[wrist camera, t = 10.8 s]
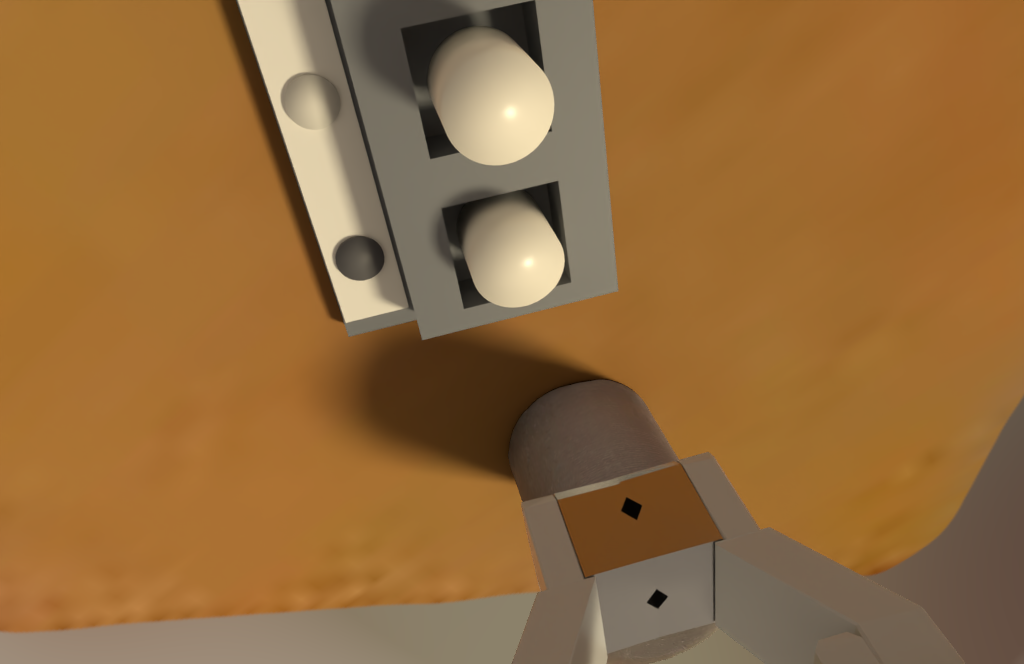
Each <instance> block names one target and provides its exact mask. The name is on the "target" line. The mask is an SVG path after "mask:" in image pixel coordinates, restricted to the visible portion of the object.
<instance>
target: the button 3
mask: <svg viewBox="0 0 1024 664" xmlns="http://www.w3.org/2000/svg"><path fill="white" fill-rule="evenodd" d="M457 236H458V240H459V243H460V246H461V248H462V251H463V254H464V257H465V260H466V262H467V265H468V268H469V271H470V274H471V277H472V279H473V282H474V285H475V287H476V289H477V290H478V292H479V293H480V294H481V295H482V296H483V297H484V298H485V299H486V300H488V301H490V302H491V303H493V304H496V305H499V306H502V307H511V308H515V307H523V306H527V305H530V304H533V303H535V302H537V301H539V300H541V299H542V298H544V297H545V296H546V295H548V294H549V293H550V292H551V291H552V290H553V289H554V287H555V286H556V285H557V283H558V282H559V280H560V278H561V275H562V273H563V269H564V262H565V259H564V251H563V248H562V245H561V243H560V242H559V240H558V238H557V237H556V235H555V233H554V232H553V230H552V228H551V227H550V225H549V223H548V222H547V220H546V218H545V216H544V215H543V213H542V211H541V210H540V208H539V206H538V205H537V203H536V202H535V200H534V199H533V198H532V197H531V196H530V195H529V194H528V193H526V192H525V191H523V190H517V191H513V192H508V193H504V194H500V195H496V196H491V197H487V198H483V199H479V200H474V201H470V202H467V203H466V204H465V205H464V207H463V208H462V210H461V212H460V214H459V217H458V221H457Z"/></svg>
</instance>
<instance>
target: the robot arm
mask: <svg viewBox="0 0 1024 664" xmlns="http://www.w3.org/2000/svg"><path fill="white" fill-rule="evenodd" d="M521 507H522V512H523V516H524V521H525V526H526V531H527V535H528V540H529V545H530V550H531V554H532V558H533V562H534V566H535V571H536V575H537V579H538V583H539V587H540V590H541V592H538V593H537V595H536V598H535V601H534V604H533V607H532V609H531V612H530V615H529V618H528V620H527V623H526V626H525V629H524V631H523V634H522V637H521V640H520V642H519V645H518V648H517V651H516V654H515V656H514V659H513V662H512V664H606V663H607V658H608V657H607V654H608V653H611V652H614V651H618V650H621V649H624V648H627V647H630V646H633V645H636V644H639V643H642V642H646V641H649V640H652V639H655V638H658V637H662V636H665V635H669V634H673V633H677V632H681V631H685V630H688V629H692V628H696V627H700V626H704V625H708V624H711V623H715V626H717V627H718V628H719V629H721V630H722V631H723V632H725V633H726V634H727V635H729V636H730V637H731V638H732V639H734V640H735V641H737V642H738V643H739V644H740V645H742V646H743V647H744V648H746V649H747V650H748V651H749V652H751V653H752V654H753V655H755V656H756V657H757V658H758V659H760V660H761V661H762V662H764V663H765V664H966V663H965V662H964V661H963V659H962V658H961V657H960V656H959V654H958V653H957V652H956V650H955V649H954V648H953V647H952V645H951V644H950V643H949V641H948V640H947V639H946V638H945V636H944V635H943V634H942V632H941V631H940V630H939V628H938V627H937V626H936V624H935V623H934V622H933V621H932V619H931V618H930V617H929V615H928V614H927V613H926V612H925V610H924V609H923V608H922V607H921V606H919V605H917V604H915V603H913V602H911V601H909V600H907V599H905V598H903V597H902V596H900V595H898V594H896V593H894V592H892V591H890V590H888V589H886V588H884V587H883V586H881V585H879V584H877V583H875V582H873V581H871V580H869V579H867V578H865V577H863V576H862V575H860V574H858V573H856V572H854V571H852V570H850V569H848V568H846V567H844V566H843V565H841V564H839V563H837V562H835V561H833V560H831V559H829V558H827V557H825V556H823V555H822V554H820V553H818V552H816V551H814V550H812V549H810V548H808V547H806V546H804V545H802V544H801V543H799V542H797V541H795V540H793V539H791V538H789V537H787V536H785V535H783V534H782V533H780V532H778V531H776V530H774V529H772V528H770V527H769V528H765V529H761V530H760V528H759V527H758V525H757V524H756V522H755V520H754V519H753V517H752V516H751V514H750V513H749V511H748V509H747V508H746V506H745V505H744V503H743V502H742V500H741V498H740V497H739V495H738V494H737V492H736V490H735V489H734V487H733V486H732V484H731V483H730V481H729V479H728V478H727V476H726V475H725V473H724V472H723V470H722V468H721V467H720V465H719V464H718V462H717V461H716V459H715V457H714V456H713V455H711V454H710V453H709V452H706V453H703V454H699V455H696V456H692V457H688V458H685V459H681V460H677V462H675V461H673V462H669V463H666V464H662V465H659V466H655V467H652V468H648V469H645V470H641V471H638V472H634V473H630V474H627V475H623V476H620V477H616V478H615V479H612V480H608V481H604V482H599V483H595V484H591V485H587V486H583V487H579V488H575V489H571V490H567V491H563V492H558V493H554V496H553V494H552V495H548V496H544V497H540V498H536V499H532V500H528V501H524V502H522V503H521Z"/></svg>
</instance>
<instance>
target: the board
mask: <svg viewBox="0 0 1024 664" xmlns="http://www.w3.org/2000/svg"><path fill="white" fill-rule="evenodd" d="M236 3H237V6H238V9H239V12H240V15H241V18H242V21H243V23H244V26H245V29H246V32H247V35H248V38H249V41H250V44H251V47H252V50H253V53H254V56H255V59H256V62H257V65H258V68H259V71H260V74H261V77H262V80H263V83H264V86H265V89H266V92H267V95H268V98H269V101H270V104H271V107H272V110H273V113H274V116H275V119H276V122H277V125H278V128H279V131H280V134H281V137H282V140H283V142H284V145H285V148H286V151H287V154H288V157H289V160H290V163H291V166H292V169H293V172H294V175H295V178H296V181H297V184H298V187H299V190H300V193H301V196H302V199H303V202H304V205H305V208H306V211H307V214H308V217H309V220H310V223H311V226H312V229H313V232H314V235H315V238H316V241H317V244H318V247H319V250H320V253H321V256H322V259H323V261H324V264H325V267H326V270H327V273H328V276H329V279H330V282H331V285H332V288H333V291H334V294H335V297H336V300H337V303H338V306H339V309H340V312H341V315H342V318H343V321H344V324H345V327H346V330H347V333H348V336H349V337H350V336H354V335H358V334H362V333H366V332H370V331H374V330H378V329H382V328H386V327H390V326H394V325H398V324H402V323H406V322H410V321H414V320H417V322H418V326H419V330H420V334H421V337H422V340H425V339H429V338H433V337H437V336H441V335H445V334H449V333H453V332H457V331H461V330H465V329H469V328H473V327H477V326H481V325H485V324H489V323H493V322H497V321H501V320H505V319H509V318H513V317H517V316H521V315H525V314H529V313H533V312H537V311H541V310H545V309H549V308H553V307H557V306H560V305H564V304H568V303H572V302H576V301H580V300H584V299H588V298H592V297H596V296H600V295H604V294H608V293H612V292H616V291H618V282H617V271H616V260H615V248H614V237H613V225H612V214H611V203H610V191H609V180H608V168H607V157H606V146H605V134H604V123H603V111H602V100H601V89H600V77H599V66H598V54H597V43H596V32H595V20H594V9H593V0H236ZM471 26H488V27H492V28H496V29H498V30H500V31H502V32H504V33H506V34H507V35H509V36H510V37H511V38H512V39H513V40H514V41H515V42H516V43H517V44H518V45H519V46H520V47H521V48H522V49H523V50H524V51H525V52H526V53H527V55H528V56H529V57H530V58H531V59H532V60H533V61H534V62H535V63H536V64H537V65H538V66H539V67H540V68H541V70H542V71H543V72H544V73H545V75H546V76H547V78H548V80H549V82H550V84H551V87H552V91H553V96H554V115H553V120H552V123H551V126H550V128H549V131H548V133H547V135H546V136H545V138H544V139H543V141H542V142H541V143H540V144H539V146H538V147H537V148H536V149H535V150H534V151H532V152H531V153H530V154H529V155H527V156H526V157H524V158H522V159H520V160H518V161H516V162H513V163H509V164H505V165H485V164H480V163H477V162H475V161H472V160H470V159H468V158H467V157H465V156H464V155H462V154H461V153H460V152H459V151H458V150H457V149H456V148H455V147H454V146H453V144H452V143H451V142H450V140H449V138H448V136H447V134H446V132H445V130H444V127H443V125H442V123H441V120H440V118H439V116H438V114H437V111H436V109H435V107H434V105H433V102H432V100H431V98H430V94H429V91H428V84H427V76H428V69H429V64H430V61H431V59H432V56H433V55H434V53H435V51H436V49H437V48H438V47H439V45H440V44H441V43H442V42H443V41H444V40H445V39H446V38H447V37H448V36H450V35H451V34H453V33H454V32H456V31H458V30H461V29H463V28H467V27H471ZM517 190H523V191H525V192H526V193H528V194H529V195H530V196H531V197H532V198H533V199H534V200H535V202H536V203H537V205H538V206H539V208H540V210H541V211H542V213H543V215H544V216H545V218H546V220H547V222H548V223H549V225H550V227H551V228H552V230H553V232H554V233H555V235H556V237H557V238H558V240H559V242H560V243H561V245H562V248H563V251H564V259H565V262H564V269H563V273H562V275H561V278H560V280H559V282H558V283H557V285H556V286H555V287H554V289H553V290H552V291H551V292H550V293H549V294H548V295H546V296H545V297H544V298H542V299H541V300H539V301H537V302H535V303H533V304H530V305H527V306H523V307H515V308H511V307H502V306H499V305H496V304H493V303H491V302H490V301H488V300H486V299H485V298H484V297H483V296H482V295H481V294H480V293H479V292H478V290H477V289H476V287H475V285H474V282H473V279H472V277H471V274H470V271H469V268H468V265H467V262H466V260H465V257H464V254H463V251H462V248H461V246H460V243H459V240H458V236H457V221H458V217H459V214H460V212H461V210H462V208H463V207H464V205H465V204H466V203H467V202H470V201H474V200H479V199H483V198H487V197H491V196H496V195H500V194H504V193H508V192H513V191H517Z"/></svg>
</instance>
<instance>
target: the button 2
mask: <svg viewBox="0 0 1024 664" xmlns="http://www.w3.org/2000/svg"><path fill="white" fill-rule="evenodd" d="M427 84H428V91H429V94H430V98H431V100H432V102H433V105H434V107H435V109H436V111H437V114H438V116H439V118H440V120H441V123H442V125H443V127H444V130H445V132H446V134H447V136H448V138H449V140H450V142H451V143H452V144H453V146H454V147H455V148H456V149H457V150H458V151H459V152H460V153H461V154H462V155H464V156H465V157H467V158H468V159H470V160H472V161H475V162H477V163H480V164H485V165H505V164H509V163H513V162H516V161H518V160H520V159H522V158H524V157H526V156H527V155H529V154H530V153H531V152H532V151H534V150H535V149H536V148H537V147H538V146H539V144H540V143H541V142H542V141H543V139H544V138H545V136H546V135H547V133H548V131H549V128H550V126H551V123H552V120H553V115H554V96H553V91H552V87H551V84H550V82H549V80H548V78H547V76H546V75H545V73H544V72H543V71H542V70H541V68H540V67H539V66H538V65H537V64H536V63H535V62H534V61H533V60H532V59H531V58H530V57H529V56H528V55H527V53H526V52H525V51H524V50H523V49H522V48H521V47H520V46H519V45H518V44H517V43H516V42H515V41H514V40H513V39H512V38H511V37H510V36H509V35H507V34H506V33H504V32H502V31H500V30H498V29H496V28H492V27H488V26H471V27H467V28H463V29H461V30H458V31H456V32H454V33H453V34H451V35H450V36H448V37H447V38H446V39H445V40H444V41H443V42H442V43H441V44H440V45H439V47H438V48H437V49H436V51H435V53H434V55H433V56H432V59H431V61H430V64H429V69H428V76H427Z"/></svg>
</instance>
